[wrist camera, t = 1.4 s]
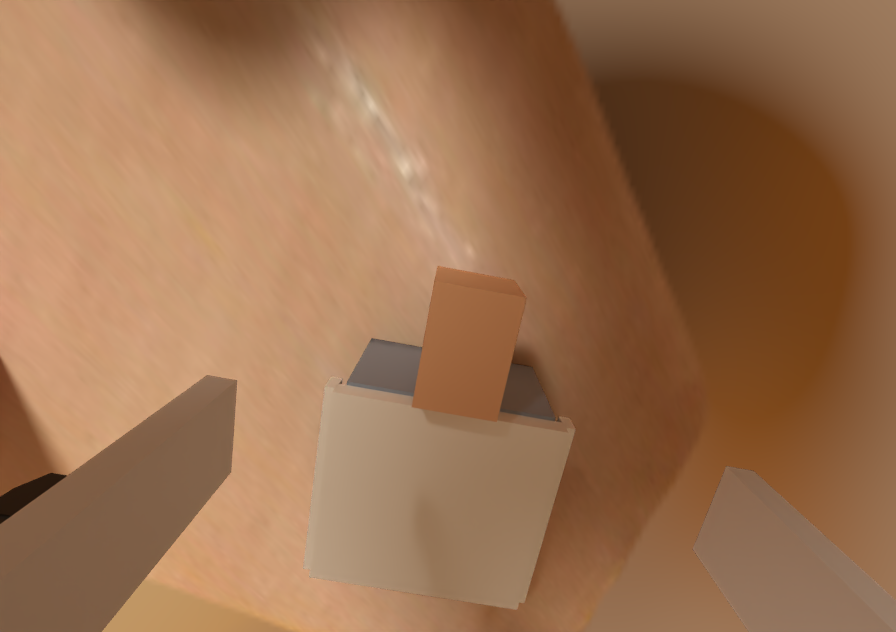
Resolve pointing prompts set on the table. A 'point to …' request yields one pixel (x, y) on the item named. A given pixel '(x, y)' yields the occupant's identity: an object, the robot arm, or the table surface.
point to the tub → (399, 369)
